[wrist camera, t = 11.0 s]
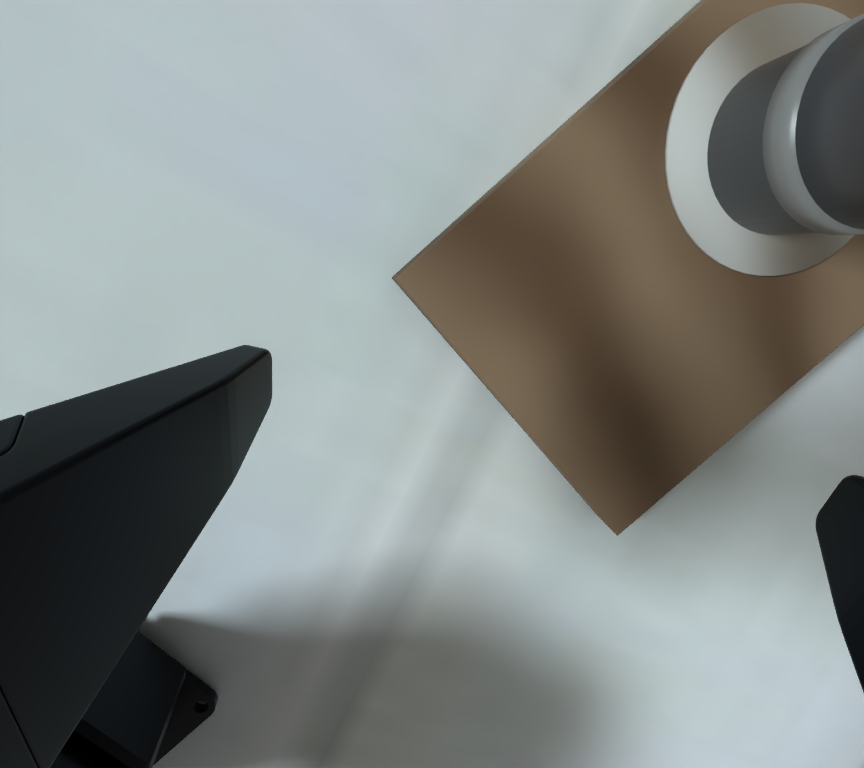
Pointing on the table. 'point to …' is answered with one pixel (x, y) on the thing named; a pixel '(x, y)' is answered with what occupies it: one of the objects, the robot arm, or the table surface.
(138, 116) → the table surface
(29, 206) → the table surface
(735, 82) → the mount board
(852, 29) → the dark grey cylinder
